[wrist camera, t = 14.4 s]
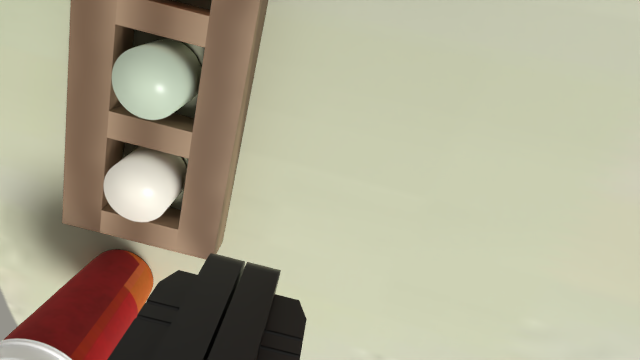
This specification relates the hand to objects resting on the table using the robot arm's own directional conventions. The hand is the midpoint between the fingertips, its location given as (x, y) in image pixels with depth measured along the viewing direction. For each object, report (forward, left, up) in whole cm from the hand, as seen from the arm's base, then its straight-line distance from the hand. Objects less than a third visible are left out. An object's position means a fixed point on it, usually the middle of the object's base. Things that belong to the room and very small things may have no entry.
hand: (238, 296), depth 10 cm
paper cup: (+13, +22, -27) cm, 37 cm away
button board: (+11, +3, -27) cm, 29 cm away
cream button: (+11, +11, -27) cm, 31 cm away
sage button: (+11, +3, -27) cm, 29 cm away
